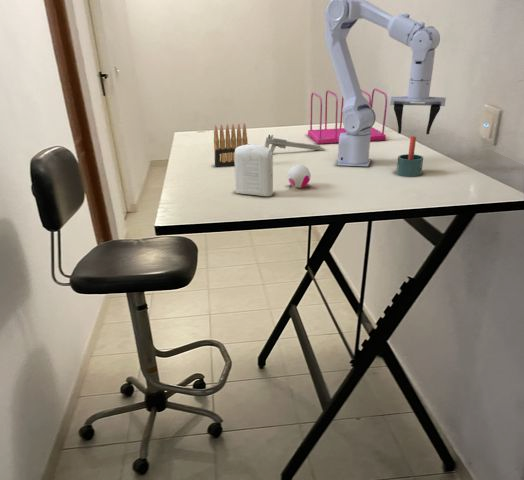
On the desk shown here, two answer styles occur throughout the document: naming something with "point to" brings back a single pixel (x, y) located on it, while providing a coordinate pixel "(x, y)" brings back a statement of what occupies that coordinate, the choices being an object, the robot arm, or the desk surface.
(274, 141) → the caliper
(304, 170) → the stress ball
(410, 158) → the red cylinder rod
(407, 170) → the cup
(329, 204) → the desk surface
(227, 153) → the ammunition clip
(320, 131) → the file sorter
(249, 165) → the white tall block
